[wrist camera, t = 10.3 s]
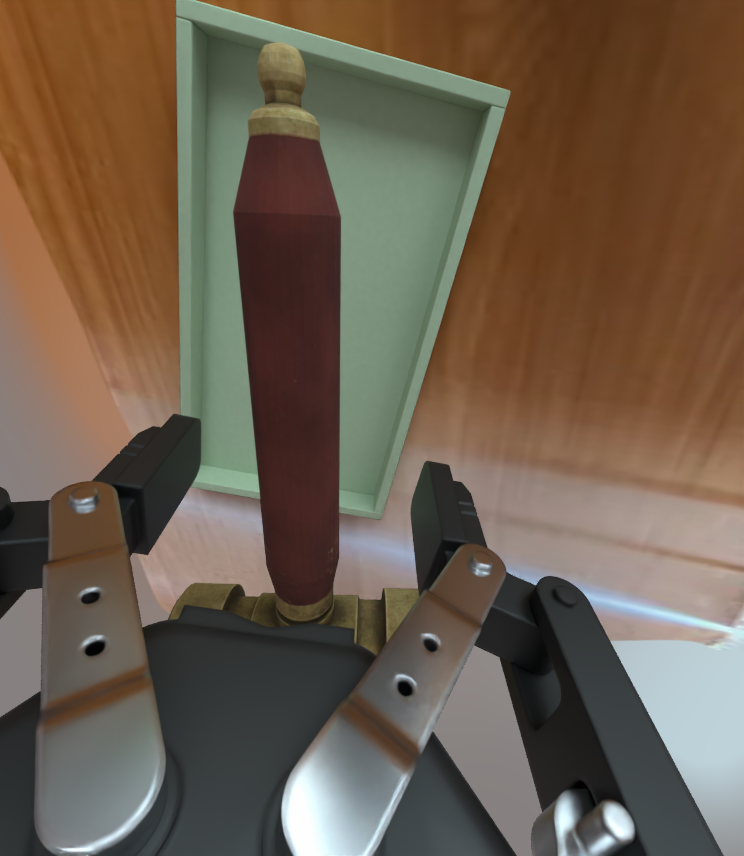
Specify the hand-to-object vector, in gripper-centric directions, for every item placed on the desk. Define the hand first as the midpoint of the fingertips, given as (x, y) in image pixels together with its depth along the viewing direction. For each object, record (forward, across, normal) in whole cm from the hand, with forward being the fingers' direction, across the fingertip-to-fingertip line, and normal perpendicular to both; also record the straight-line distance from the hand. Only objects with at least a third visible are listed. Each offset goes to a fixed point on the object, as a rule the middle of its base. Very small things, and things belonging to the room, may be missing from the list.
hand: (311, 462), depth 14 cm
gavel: (+1, 0, 0) cm, 2 cm away
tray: (+15, +2, 0) cm, 16 cm away
